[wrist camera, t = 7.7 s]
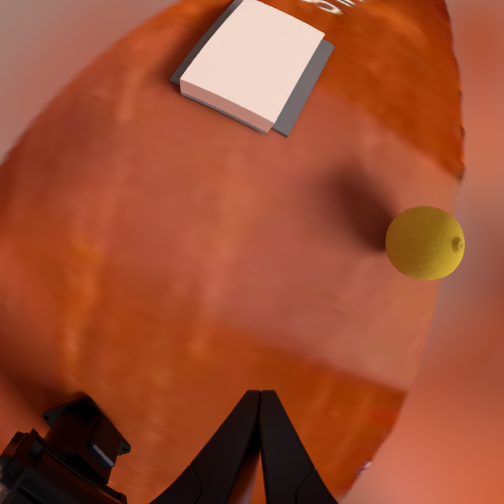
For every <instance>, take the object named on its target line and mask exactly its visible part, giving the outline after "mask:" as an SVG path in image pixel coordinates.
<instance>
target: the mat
mask: <svg viewBox="0 0 504 504" xmlns="http://www.w3.org/2000/svg"><path fill="white" fill-rule="evenodd" d="M242 2H243V1H242V0H235V1H234V2H233V3H232V4H231V5H230V6H229V7H228V8H227V9H226V10H225V11H224V12H223V13H222V14H221V16H220V17H219V18H218V19H217V20H216V21H215V22H214V23H213V25H212V26H211V27H210V28H209V29H208V30H207V32H206V33H205V34H204V35H203V36H202V38H201V39H200V40H199V41H198V42H197V44H196V45H195V46H194V47H193V49H192V50H191V51H190V52H189V54H188V55H187V56H186V58H185V59H184V60H183V62H182V63H181V64H180V66H179V67H178V68H177V70H176V71H175V72H174V74H173V75H172V77H171V78H170V82H172V83H174V84H177V85H179V86H180V78H181V77H182V75H183V74H184V72H185V71H186V70H187V68H188V67H189V66H190V64H191V63H192V61H193V60H194V59H195V58H196V56H197V55H198V54H199V52H200V51H201V50H202V48H203V47H204V46H205V45H206V43H207V42H208V41H209V40H210V38H211V37H212V36H213V35H214V34H215V32H216V31H217V30H218V29H219V28H220V26H221V25H222V24H223V23H224V22H225V21H226V19H227V18H228V17H229V16H230V15H231V14H232V13H233V12H234V11H235V9H236V8H237V7H238V6H239V5H240V4H241V3H242ZM334 47H335V46H334V45H332V44H331V43H329V42H327V41H325V40H324V39H322V40H321V41H320V43H319V45H318V47H317V48H316V50H315V52H314V53H313V55H312V57H311V59H310V60H309V62H308V64H307V66H306V67H305V69H304V71H303V73H302V74H301V76H300V78H299V80H298V82H297V83H296V85H295V87H294V89H293V91H292V92H291V94H290V96H289V98H288V100H287V101H286V103H285V105H284V107H283V109H282V111H281V112H280V114H279V116H278V118H277V120H276V122H275V123H274V125H273V126H272V127H271V129H272V130H274V131H276V132H278V133H279V134H281V135H283V136H285V137H287V136H288V135H289V133H290V131H291V129H292V127H293V125H294V123H295V121H296V119H297V117H298V115H299V114H300V112H301V110H302V108H303V106H304V104H305V102H306V100H307V98H308V96H309V94H310V92H311V90H312V88H313V86H314V85H315V83H316V81H317V79H318V77H319V75H320V73H321V71H322V69H323V67H324V65H325V64H326V62H327V60H328V58H329V56H330V54H331V52H332V50H333V48H334Z"/></svg>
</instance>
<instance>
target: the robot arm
mask: <svg viewBox="0 0 504 504" xmlns="http://www.w3.org/2000/svg"><path fill="white" fill-rule="evenodd" d="M86 401H87V402H88V403H89V404H88V403H86ZM42 417H43V419H44V420H45V421H46V423H47V424H48V425H49V426H50V430H49V431H48V433H47V435H46V436H45V438H44V439H43V438H42V437H41V436H40V435H38V434H39V433H38V432H37V431H36V430H34V429H32V430H31V431H30V433H28V432H26V433H22V432H19V431H18V432H17V433H16V434H15V436H14V437H13V438H12V440H11V441H10V442H9V444H8V445H7V447H6V448H5V450H4V451H3V453H2V454H1V456H0V486H2V487H3V490H2V491H1V493H0V504H127V499H126V495H124V494H122V493H120V492H119V493H118V492H117V491H115V490H113V489H112V488H110V487H108V486H107V485H105V484H108V481H109V477H110V473H111V470H112V467H114V466H115V463H116V459H117V456H119V455H122V454H126V453H129V452H130V450H131V446H130V445H129V444H128V443H127V442H126V440H125V439H124V438H123V437H122V435H121V434H120V433H119V432H118V431H117V429H116V428H115V427H114V426H113V425H112V424H111V422H110V421H109V420H108V419H107V417H106V416H104V414H103V413H102V412H101V411H100V409H99V408H98V407H97V405H96V404H95V403H94V402H93V400H92V399H91V398H89V397H83V398H80V399H78V400H75V401H72V402H70V403H67V404H64V405H62V406H59V407H56V408H54V409H51V410H48V411H45V412H44V413H43V415H42ZM124 447H125V448H124ZM260 450H261V461H262V471H263V481H264V490H265V500H266V504H338V502H337V501H336V500H335V498H334V497H333V496H332V494H331V493H330V491H329V490H328V488H327V487H326V485H325V483H324V482H323V480H322V479H321V477H320V475H319V473H318V471H317V470H316V469H315V466H314V464H313V462H312V461H311V459H310V457H309V455H308V453H307V451H306V449H305V447H304V446H303V444H302V442H301V440H300V438H299V436H298V434H297V432H296V430H295V428H294V427H293V425H292V423H291V421H290V419H289V417H288V415H287V413H286V411H285V409H284V407H283V405H282V403H281V401H280V399H279V397H278V395H277V393H276V391H275V390H262V391H260V390H248V391H246V393H245V394H244V395H243V397H242V398H241V399H240V401H239V402H238V404H237V405H236V406H235V408H234V409H233V410H232V412H231V413H230V414H229V415H228V417H227V418H226V419H225V421H224V422H223V423H222V425H221V426H220V427H219V428H218V430H217V431H216V432H215V434H214V435H213V436H212V437H211V439H210V440H209V441H208V442H207V444H206V445H205V446H204V447H203V449H202V450H201V451H200V452H199V453H198V455H197V456H196V457H195V458H194V460H193V461H192V462H191V463H190V465H188V467H187V468H186V469H185V470H184V471H183V472H182V474H181V475H180V476H179V477H178V478H177V479H176V480H175V481H174V482H173V483H172V484H171V485H170V486H169V487H168V488H167V489H166V490H165V491H164V492H162V493H161V494H160V495H159V496H158V497H157V498H155V499H154V500H153V501H152V502H151V503H149V504H250V501H251V496H252V492H253V487H254V482H255V478H256V473H257V468H258V463H259V458H260Z"/></svg>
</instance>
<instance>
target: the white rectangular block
mask: <svg viewBox="0 0 504 504" xmlns="http://www.w3.org/2000/svg"><path fill="white" fill-rule="evenodd" d="M324 35H325V34H324V33H322V32H320V31H319V30H317V29H315V28H313V27H311V26H310V25H308V24H306V23H304V22H302V21H300V20H298V19H296V18H294V17H292V16H290V15H288V14H286V13H284V12H282V11H279V10H277V9H275V8H273V7H271V6H268V5H266V4H264V3H261V2H259V1H256V0H244V1H243V2H242V3H241V4H240V5H239V6H238V7H237V8H236V9H235V11H234V12H233V13H232V14H231V15H230V16H229V17H228V18H227V19H226V21H225V22H224V23H223V24H222V25H221V26H220V28H219V29H218V30H217V31H216V32H215V34H214V35H213V36H212V37H211V38H210V40H209V41H208V42H207V43H206V45H205V46H204V47H203V48H202V50H201V51H200V52H199V54H198V55H197V56H196V58H195V59H194V60H193V61H192V63H191V64H190V66H189V67H188V68H187V70H186V71H185V72H184V74H183V75H182V77H181V78H180V88H181V95H183V96H186V97H188V98H190V99H193V100H195V101H197V102H200V103H202V104H204V105H206V106H208V107H211V108H213V109H215V110H217V111H219V112H221V113H223V114H226V115H228V116H230V117H232V118H234V119H236V120H238V121H240V122H242V123H244V124H246V125H248V126H250V127H252V128H254V129H256V130H258V131H259V132H261V133H263V134H265V135H266V134H267V132H268V131H269V130H270V129H271V127H272V126H273V125H274V123H275V122H276V120H277V118H278V116H279V114H280V112H281V111H282V109H283V107H284V105H285V103H286V101H287V100H288V98H289V96H290V94H291V92H292V91H293V89H294V87H295V85H296V83H297V82H298V80H299V78H300V76H301V74H302V73H303V71H304V69H305V67H306V66H307V64H308V62H309V60H310V59H311V57H312V55H313V53H314V52H315V50H316V48H317V47H318V45H319V43H320V41H321V40H322V38H323V36H324Z"/></svg>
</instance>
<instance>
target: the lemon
mask: <svg viewBox="0 0 504 504" xmlns="http://www.w3.org/2000/svg"><path fill="white" fill-rule="evenodd" d="M385 245H386V252H387V255H388V257H389V259H390V261H391V263H392V264H393V266H394V267H395V268H396V269H397V270H399V271H400V272H401V273H402V274H404V275H406V276H409V277H411V278H413V279H418V280H435V279H439V278H442V277H445V276H447V275H448V274H450V273H451V272H452V271H454V270H455V268H456V267H457V266H458V265H459V263H460V261H461V259H462V257H463V253H464V246H465V244H464V235H463V232H462V229H461V227H460V225H459V224H458V222H457V221H456V220H455V218H454V217H453V216H451V215H450V214H449V213H447V212H445V211H443V210H441V209H438V208H434V207H426V206H418V207H414V208H410V209H407V210H405V211H403V212H401V213H400V214H399V215H397V216H396V217H395V218H394V220H393V221H392V222H391V224H390V226H389V228H388V230H387V234H386V241H385Z"/></svg>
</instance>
